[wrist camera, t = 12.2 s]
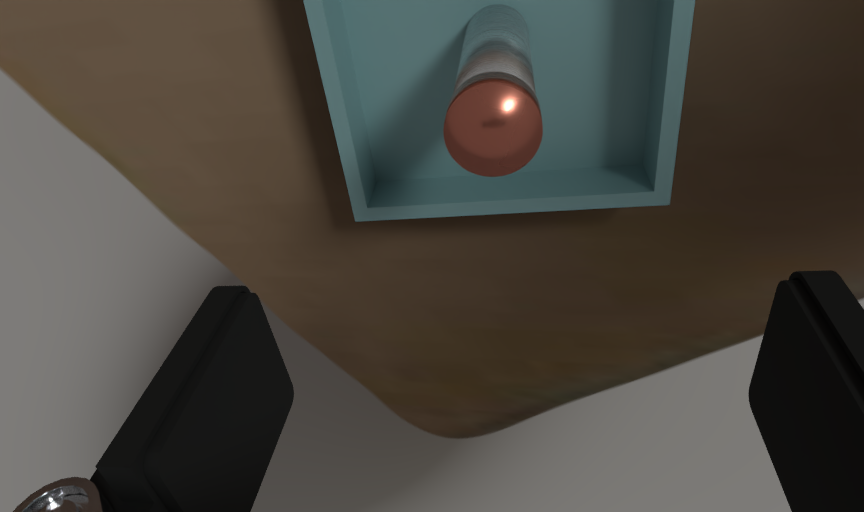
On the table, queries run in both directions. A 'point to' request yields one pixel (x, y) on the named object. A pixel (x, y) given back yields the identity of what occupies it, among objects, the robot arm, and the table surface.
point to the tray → (555, 89)
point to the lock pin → (494, 96)
